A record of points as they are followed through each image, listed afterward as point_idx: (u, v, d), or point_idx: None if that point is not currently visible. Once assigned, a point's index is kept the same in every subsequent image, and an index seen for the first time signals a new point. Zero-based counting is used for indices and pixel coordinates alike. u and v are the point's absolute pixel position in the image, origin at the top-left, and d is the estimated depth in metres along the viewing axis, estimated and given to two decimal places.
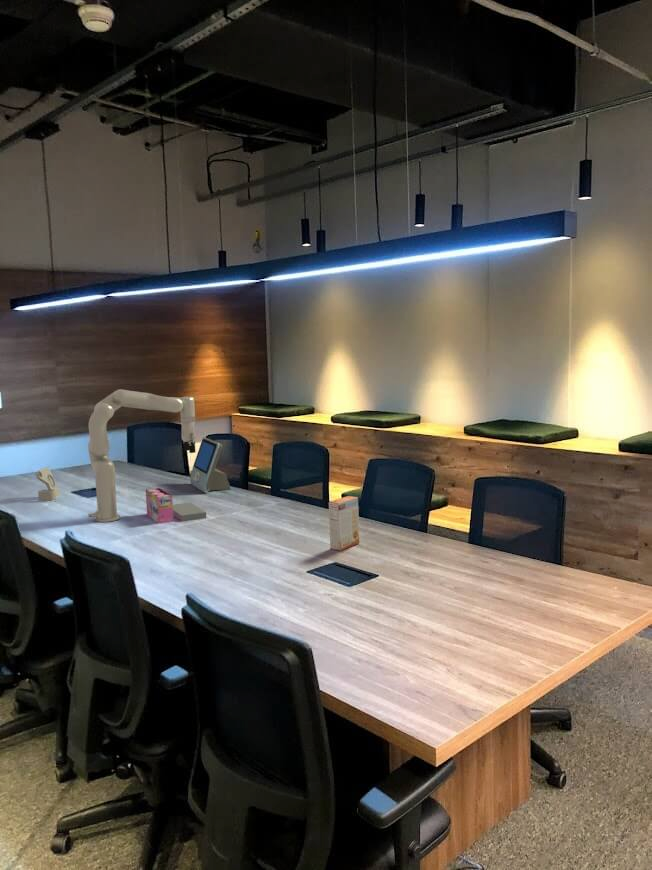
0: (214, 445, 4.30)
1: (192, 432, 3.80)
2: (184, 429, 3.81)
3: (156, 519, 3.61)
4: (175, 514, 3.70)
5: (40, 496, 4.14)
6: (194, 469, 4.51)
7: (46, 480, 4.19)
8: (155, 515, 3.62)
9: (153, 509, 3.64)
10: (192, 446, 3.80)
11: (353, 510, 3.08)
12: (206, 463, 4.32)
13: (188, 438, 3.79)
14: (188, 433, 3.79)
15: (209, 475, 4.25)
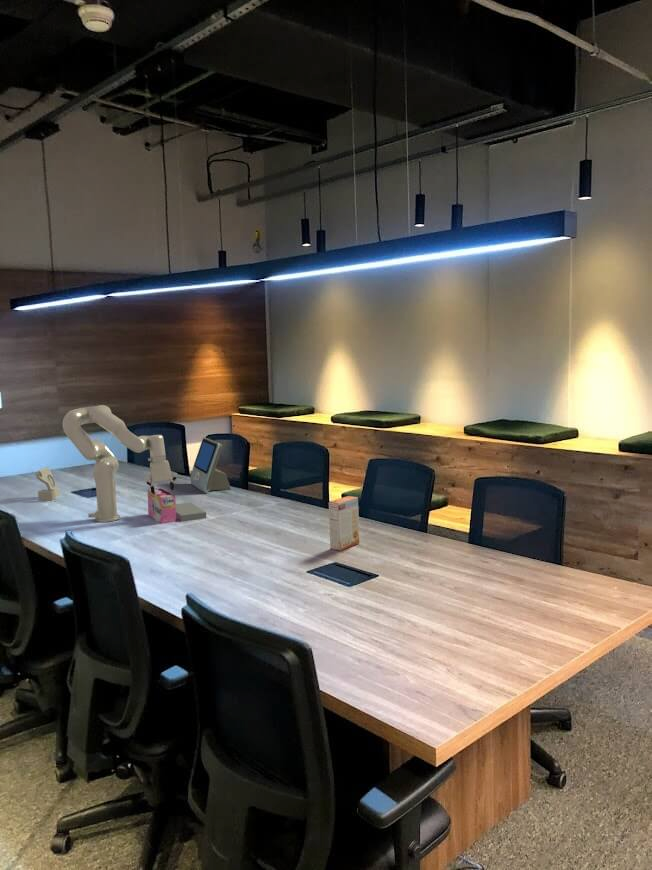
0: (214, 445, 4.30)
1: None
2: (164, 468, 3.64)
3: (159, 519, 3.60)
4: None
5: (40, 496, 4.14)
6: (194, 469, 4.51)
7: (46, 480, 4.19)
8: (157, 515, 3.61)
9: (155, 509, 3.64)
10: None
11: (353, 510, 3.08)
12: (206, 463, 4.32)
13: None
14: (170, 470, 3.66)
15: (209, 475, 4.25)
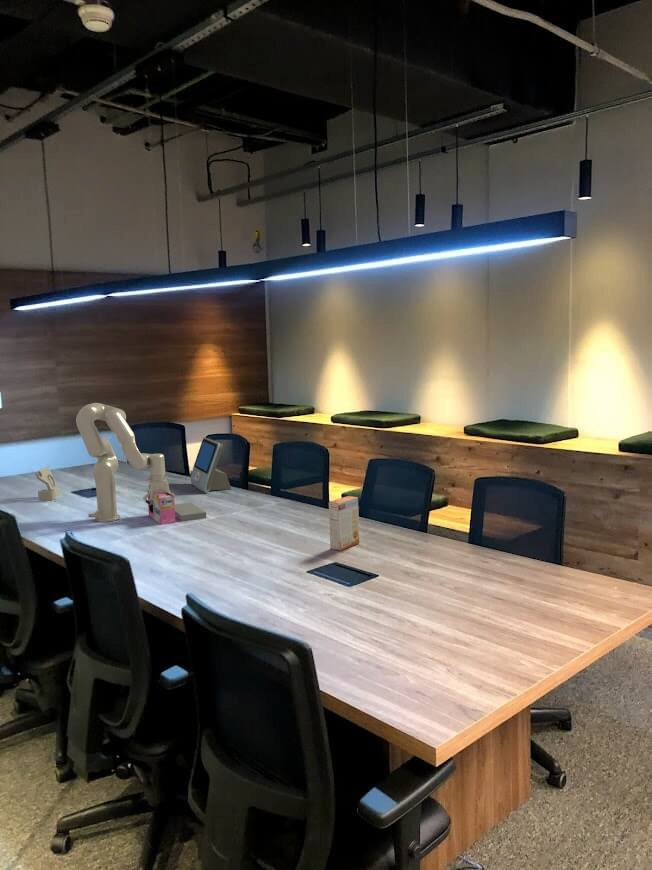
0: (214, 445, 4.30)
1: None
2: (163, 487, 3.65)
3: (158, 520, 3.59)
4: (175, 514, 3.70)
5: (40, 496, 4.14)
6: (194, 469, 4.51)
7: (46, 480, 4.19)
8: (157, 516, 3.60)
9: (155, 510, 3.62)
10: None
11: (353, 510, 3.08)
12: (206, 463, 4.33)
13: None
14: None
15: (209, 475, 4.25)
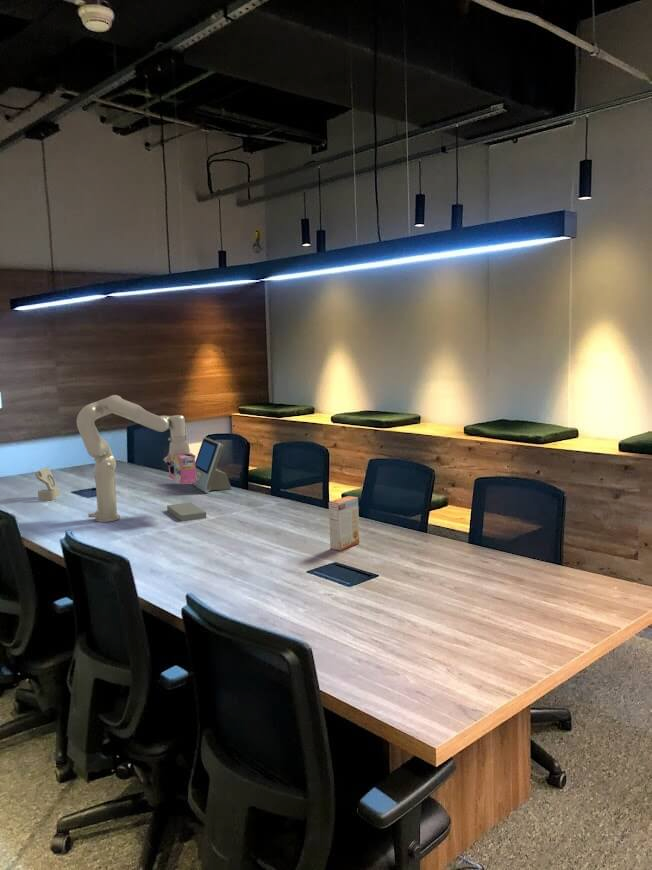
0: (215, 445, 4.30)
1: None
2: (183, 448, 3.68)
3: (179, 480, 3.62)
4: (175, 514, 3.70)
5: (40, 496, 4.14)
6: None
7: (46, 480, 4.19)
8: (178, 476, 3.62)
9: (176, 471, 3.65)
10: None
11: (353, 510, 3.08)
12: (207, 463, 4.33)
13: None
14: (189, 451, 3.71)
15: (210, 475, 4.25)
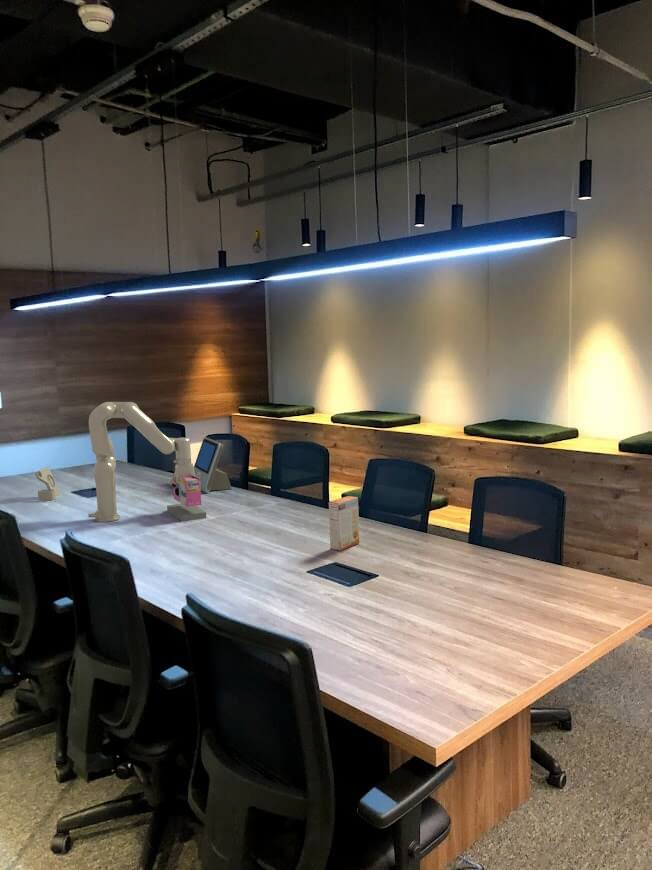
0: (215, 445, 4.30)
1: None
2: (189, 470, 3.71)
3: (184, 503, 3.64)
4: (175, 514, 3.70)
5: (40, 496, 4.14)
6: (195, 469, 4.52)
7: (46, 480, 4.19)
8: (183, 499, 3.65)
9: (181, 493, 3.67)
10: None
11: (353, 510, 3.08)
12: (207, 463, 4.33)
13: None
14: (194, 473, 3.74)
15: (210, 475, 4.25)
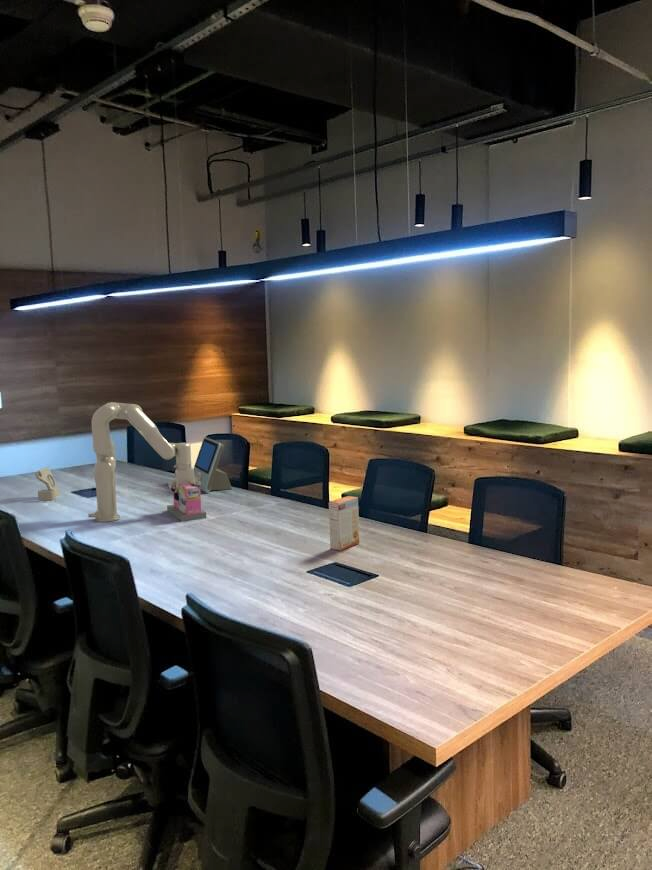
0: (215, 445, 4.30)
1: None
2: (189, 475, 3.71)
3: (184, 510, 3.65)
4: (175, 514, 3.70)
5: (40, 496, 4.14)
6: (195, 469, 4.52)
7: (46, 480, 4.19)
8: (183, 506, 3.66)
9: (181, 501, 3.68)
10: None
11: (353, 510, 3.08)
12: (207, 463, 4.33)
13: (195, 483, 3.74)
14: (194, 478, 3.74)
15: (210, 475, 4.25)
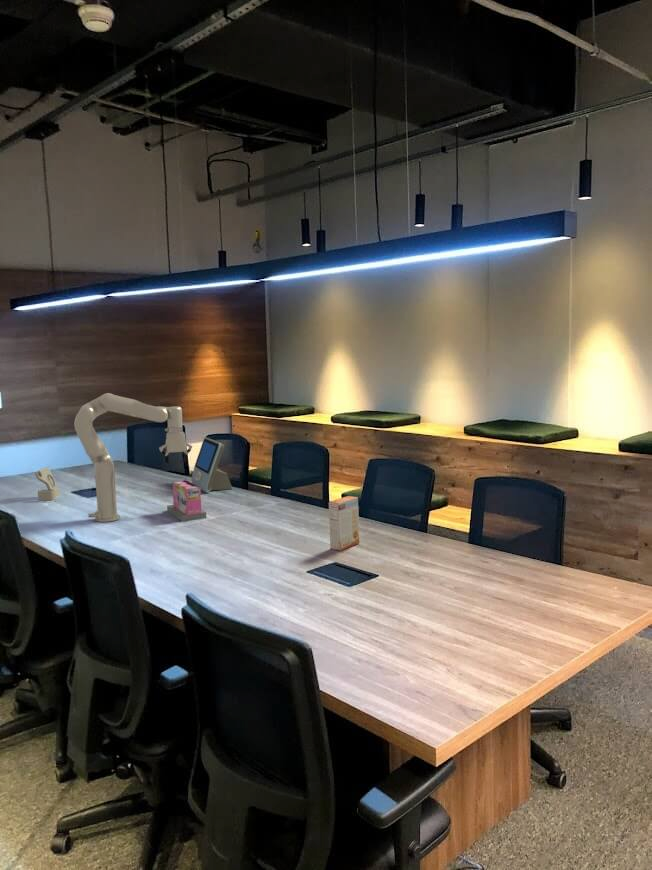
0: (216, 445, 4.30)
1: None
2: (180, 439, 3.73)
3: (184, 510, 3.65)
4: (175, 514, 3.70)
5: (40, 496, 4.14)
6: (195, 469, 4.52)
7: (46, 480, 4.19)
8: (183, 506, 3.65)
9: (181, 501, 3.68)
10: None
11: (353, 510, 3.08)
12: (208, 463, 4.33)
13: None
14: (185, 442, 3.75)
15: (211, 475, 4.25)
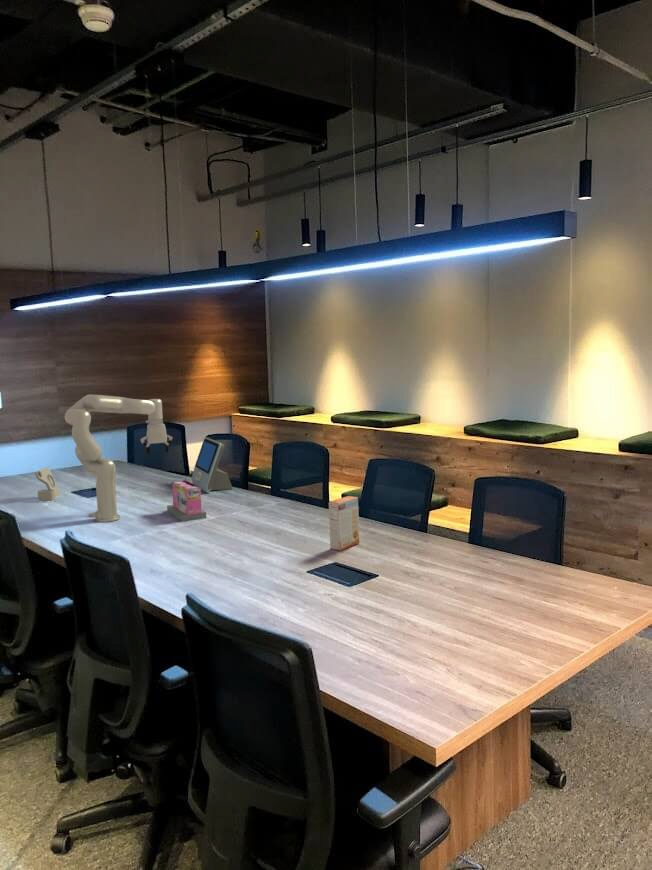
0: (216, 445, 4.30)
1: None
2: (160, 430, 3.84)
3: (184, 510, 3.65)
4: (175, 514, 3.70)
5: (39, 496, 4.14)
6: (196, 469, 4.52)
7: (46, 480, 4.19)
8: (183, 507, 3.65)
9: (181, 501, 3.68)
10: None
11: (353, 510, 3.08)
12: (208, 463, 4.33)
13: (166, 438, 3.87)
14: None
15: (211, 475, 4.25)
